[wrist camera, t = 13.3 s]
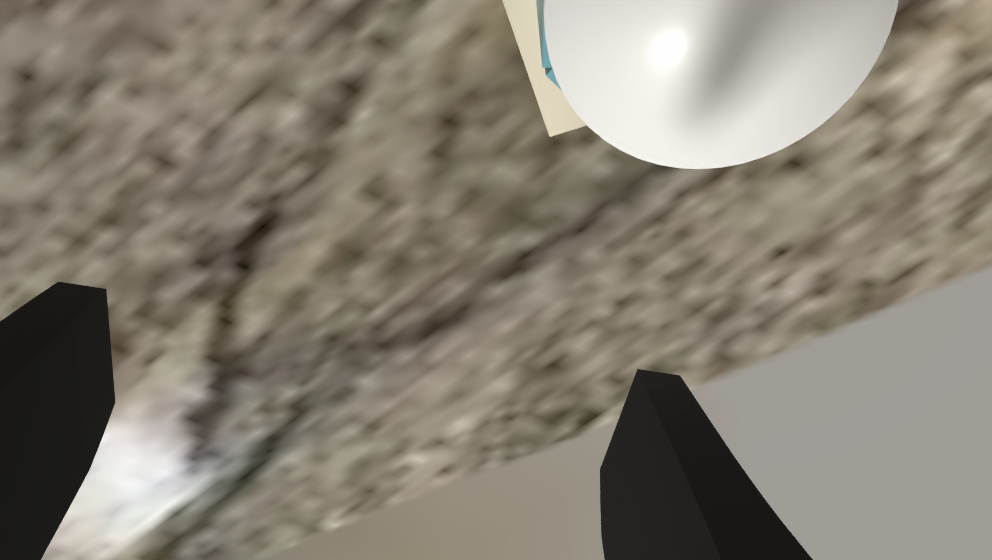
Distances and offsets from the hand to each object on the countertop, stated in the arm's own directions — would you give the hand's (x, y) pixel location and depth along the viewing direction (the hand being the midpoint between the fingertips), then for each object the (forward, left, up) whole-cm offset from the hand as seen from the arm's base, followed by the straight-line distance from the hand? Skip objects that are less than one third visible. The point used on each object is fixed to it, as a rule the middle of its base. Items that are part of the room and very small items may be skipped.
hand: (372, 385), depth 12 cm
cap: (+6, +2, -9) cm, 11 cm away
